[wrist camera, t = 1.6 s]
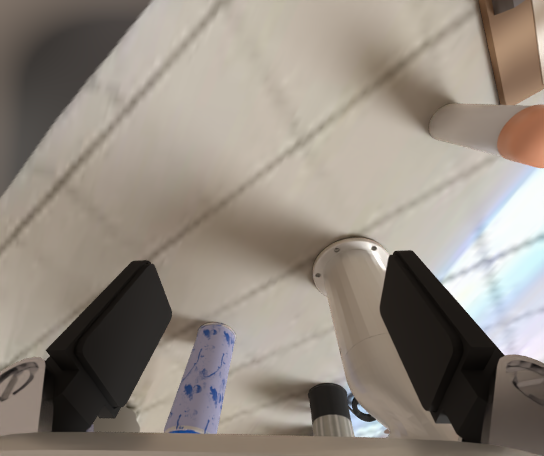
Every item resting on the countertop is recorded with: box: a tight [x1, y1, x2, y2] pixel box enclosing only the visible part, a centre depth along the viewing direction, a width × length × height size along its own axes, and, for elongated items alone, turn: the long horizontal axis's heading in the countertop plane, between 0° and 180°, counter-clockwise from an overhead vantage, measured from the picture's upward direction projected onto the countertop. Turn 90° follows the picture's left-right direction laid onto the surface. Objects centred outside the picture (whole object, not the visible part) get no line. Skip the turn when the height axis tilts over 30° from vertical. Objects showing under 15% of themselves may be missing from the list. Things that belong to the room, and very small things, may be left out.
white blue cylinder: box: [164, 322, 236, 434], centre depth 40 cm, size 8×8×20 cm
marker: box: [429, 104, 544, 168], centre depth 23 cm, size 4×4×13 cm
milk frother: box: [308, 384, 376, 437], centre depth 51 cm, size 14×16×15 cm
